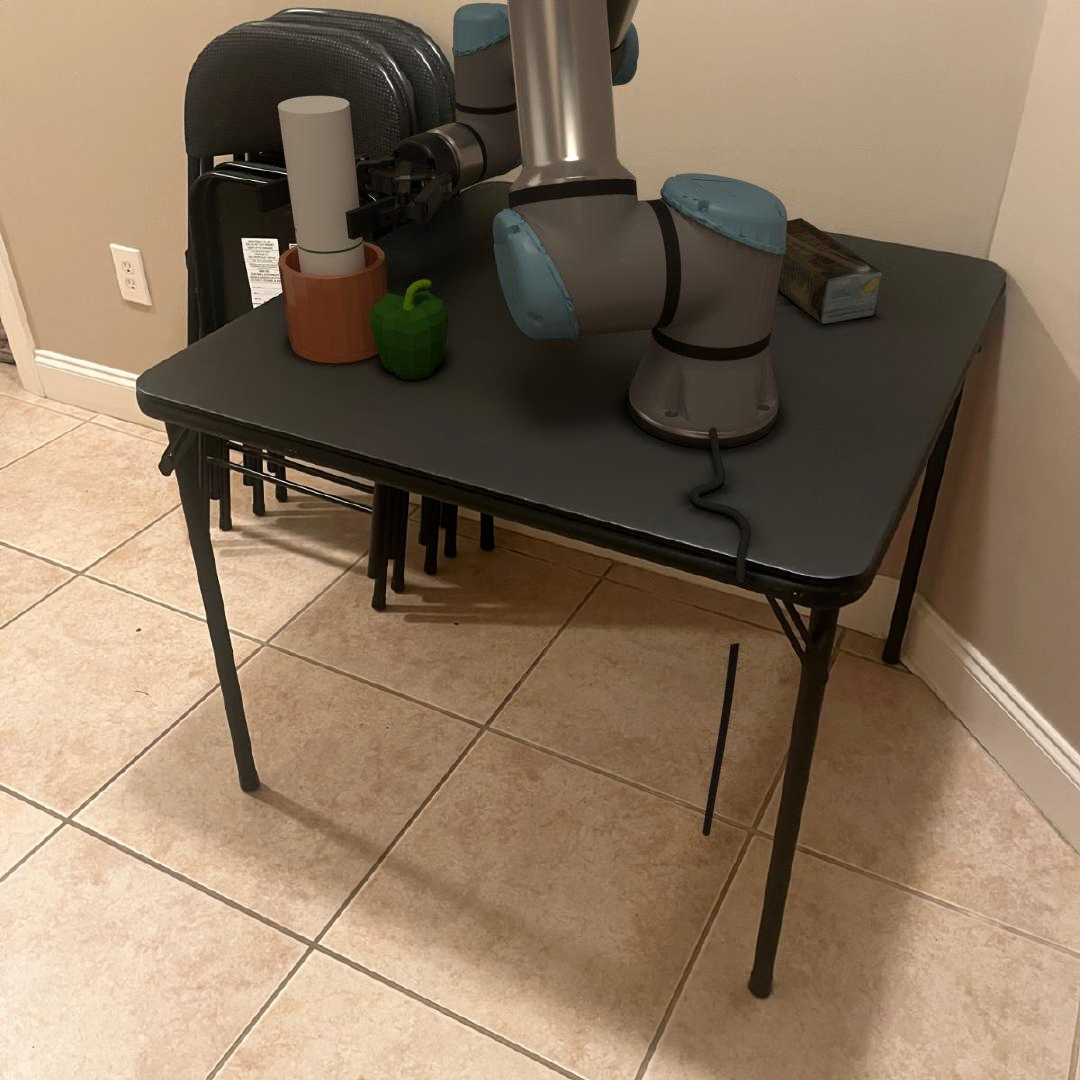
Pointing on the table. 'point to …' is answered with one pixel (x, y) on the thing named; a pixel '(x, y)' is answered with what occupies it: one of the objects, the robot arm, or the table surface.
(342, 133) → the cylindrical container
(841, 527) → the table surface
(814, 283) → the beverage carton
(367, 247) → the crock
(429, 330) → the bell pepper
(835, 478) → the table surface
